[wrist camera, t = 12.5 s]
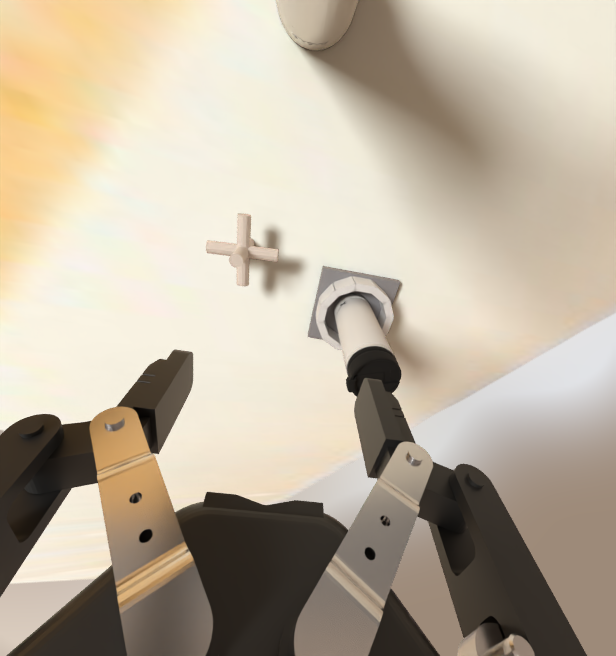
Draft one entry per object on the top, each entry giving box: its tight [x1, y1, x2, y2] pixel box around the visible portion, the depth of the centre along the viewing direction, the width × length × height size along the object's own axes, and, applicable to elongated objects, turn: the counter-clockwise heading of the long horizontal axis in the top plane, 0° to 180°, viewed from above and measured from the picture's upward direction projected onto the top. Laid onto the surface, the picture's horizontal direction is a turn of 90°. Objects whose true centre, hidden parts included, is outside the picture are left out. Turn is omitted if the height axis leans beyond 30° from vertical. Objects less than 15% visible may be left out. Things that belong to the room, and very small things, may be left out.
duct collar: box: [308, 266, 400, 350], centre depth 49 cm, size 13×13×5 cm
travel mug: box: [334, 294, 401, 396], centre depth 42 cm, size 6×7×20 cm
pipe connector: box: [206, 214, 279, 286], centre depth 41 cm, size 10×10×10 cm
